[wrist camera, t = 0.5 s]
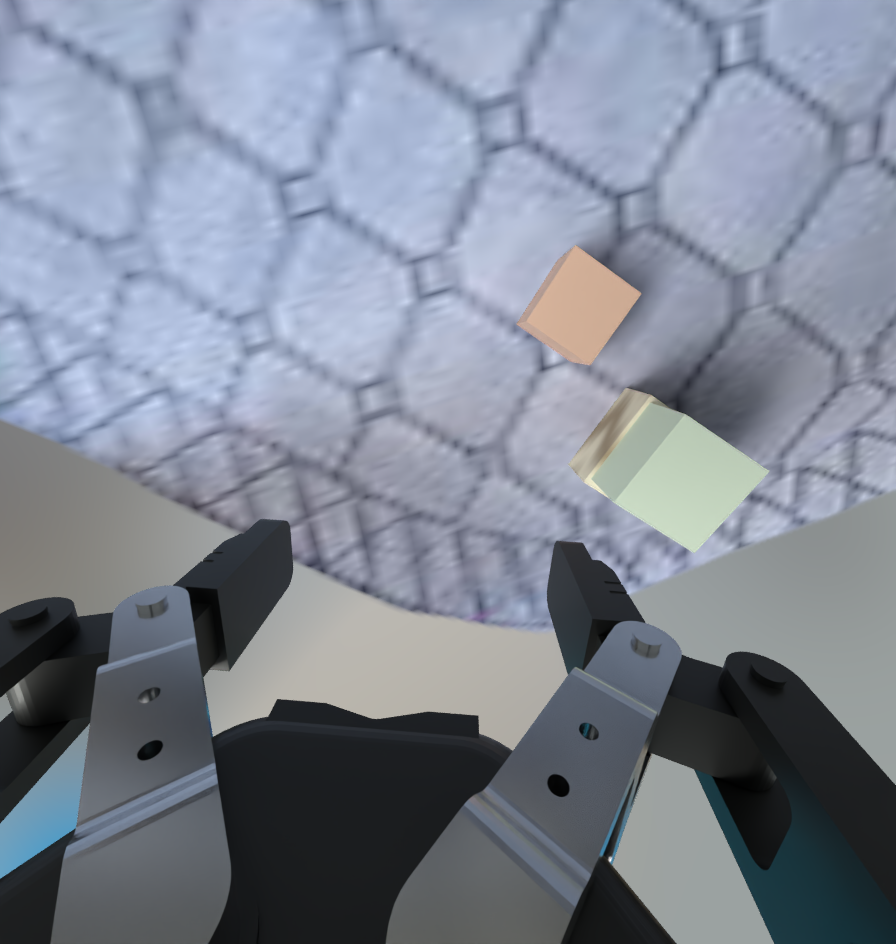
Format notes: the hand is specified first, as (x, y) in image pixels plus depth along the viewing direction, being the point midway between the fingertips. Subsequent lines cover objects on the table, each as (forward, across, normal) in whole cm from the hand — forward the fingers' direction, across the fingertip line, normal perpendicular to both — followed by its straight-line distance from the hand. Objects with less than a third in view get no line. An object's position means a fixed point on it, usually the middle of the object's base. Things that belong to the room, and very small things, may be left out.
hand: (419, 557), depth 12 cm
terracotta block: (+25, -9, -8) cm, 28 cm away
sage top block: (+20, -16, +2) cm, 26 cm away
